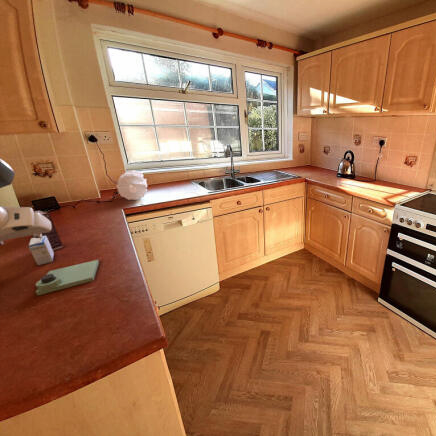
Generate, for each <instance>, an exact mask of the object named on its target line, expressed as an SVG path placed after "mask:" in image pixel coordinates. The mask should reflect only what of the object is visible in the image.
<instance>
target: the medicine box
mask: <svg viewBox="0 0 436 436" xmlns="http://www.w3.org/2000/svg"><path fill="white" fill-rule="evenodd" d="M28 249H29V251H30V253H31V255H32V257H33V259H34V261H35V263H36V265H37V266H41V265H45V264H50V263H53V261H54V255H55V252H54V251H53V250H52V248H51V245H50V243H49V241H48V238H47V236H42V237H41V238H35V237H32V238H30V241H29V243H28Z"/></svg>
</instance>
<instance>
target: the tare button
mask: <svg viewBox="0 0 436 436" xmlns="http://www.w3.org/2000/svg"><path fill="white" fill-rule="evenodd" d="M40 280H41V281H42V283H43V284H46V283H50V282H52V281H54V280H55V277H54V275H53V274H48V275H47V274H45V275H43V276H41V277H40Z"/></svg>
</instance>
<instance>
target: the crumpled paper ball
mask: <svg viewBox="0 0 436 436" xmlns="http://www.w3.org/2000/svg"><path fill="white" fill-rule="evenodd" d="M144 177H145V176H144V174H143V173H142V172H141V171H137V170H135V169H132V170H126V171H125V172H123V173H122V174H121V175H120V176H119V177H118V180H117V183H116V186H115V188H117V192H118V194H119V195H120V197H121V198H124V199H126V200H128V201H131V200H133V201H134V200H135V201H137V200H139V199H141V198H144V197H145V194H146V193H147V192H148V189H147V188H148V183H147V178H144Z"/></svg>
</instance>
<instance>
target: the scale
mask: <svg viewBox="0 0 436 436" xmlns="http://www.w3.org/2000/svg"><path fill="white" fill-rule="evenodd" d="M99 265H100V262H99V259H95V260H91V261H86V262H82V263H77V264H74V265H70V266H65V267H61V268H56V269H52V270H49V271H48V272H47V273H46V275H48V274H53V275H54V277H55V280H54V281H52V282H50V283H46V284H43V283H42V281H41V279H40V280H38V281H36V283H35V286H36V288H37V289H36V290H35V294H36V295H37V296H42V295H44V294H49V293H53V292H56V291H60V290H65V289H68V288H71V287H76V286H80V285H83V284H87V283H91V282H93V281H94V280H95V277H96V274H97V272H98V271H97V270H98V267H99Z"/></svg>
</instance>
